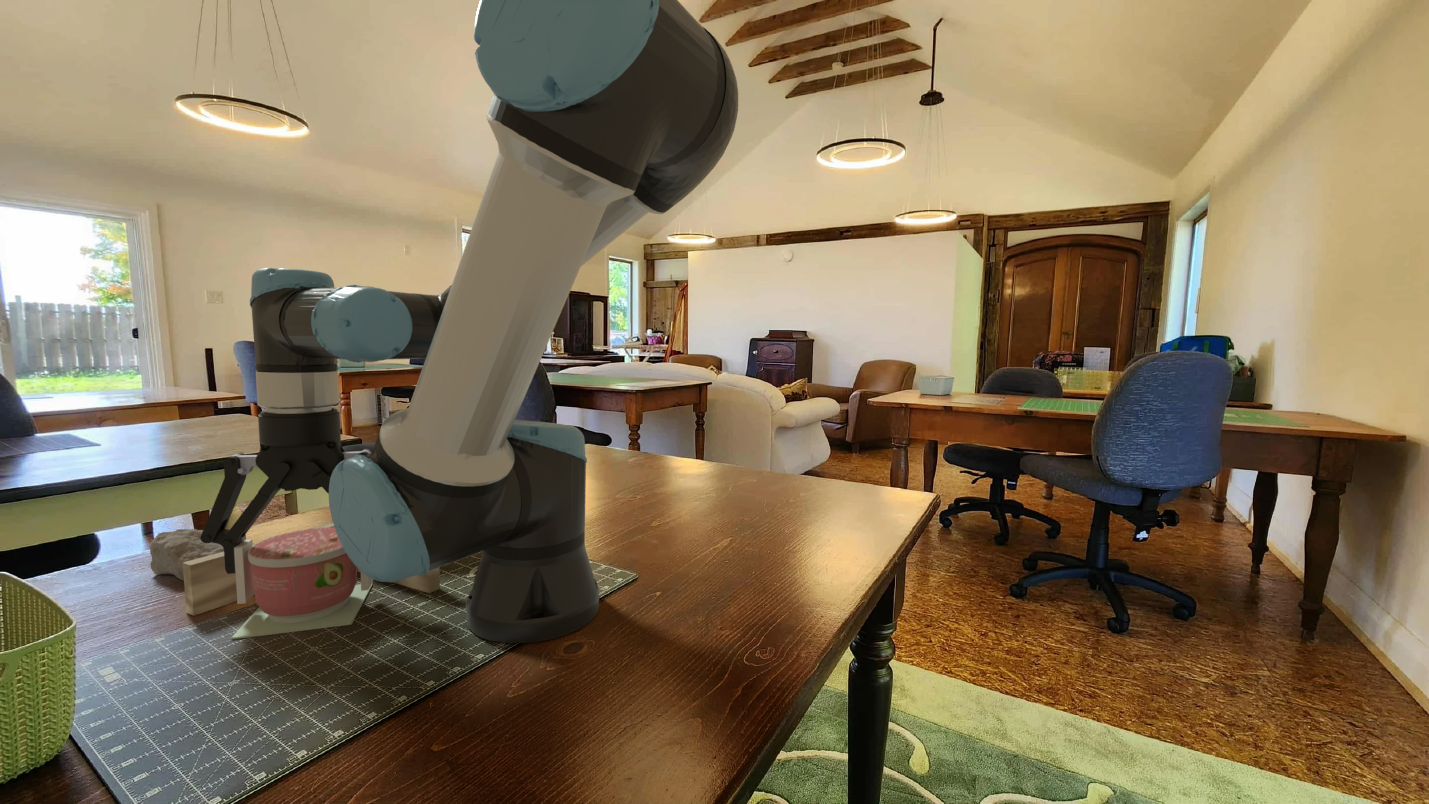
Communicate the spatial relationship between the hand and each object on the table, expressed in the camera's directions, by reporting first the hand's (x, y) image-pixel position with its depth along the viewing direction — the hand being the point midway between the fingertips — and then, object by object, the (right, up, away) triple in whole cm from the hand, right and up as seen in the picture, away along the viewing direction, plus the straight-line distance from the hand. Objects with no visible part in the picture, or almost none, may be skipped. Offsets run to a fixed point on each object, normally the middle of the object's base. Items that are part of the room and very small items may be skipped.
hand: (308, 592), depth 67 cm
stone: (-22, -1, +9) cm, 24 cm away
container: (0, -2, 0) cm, 2 cm away
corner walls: (0, -2, +2) cm, 3 cm away
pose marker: (0, -2, 0) cm, 2 cm away
